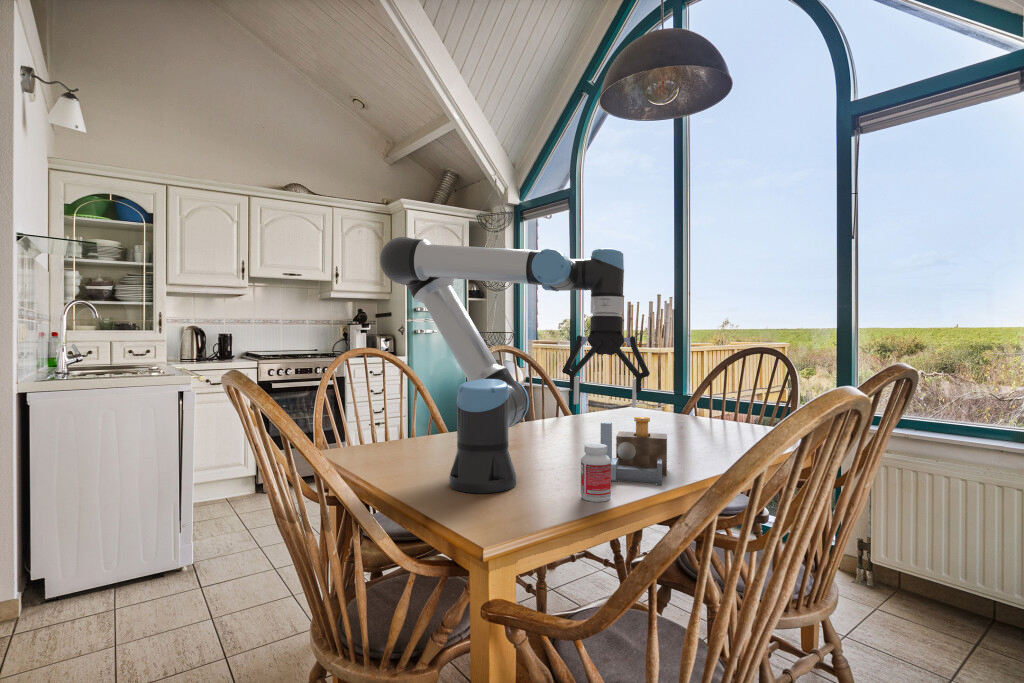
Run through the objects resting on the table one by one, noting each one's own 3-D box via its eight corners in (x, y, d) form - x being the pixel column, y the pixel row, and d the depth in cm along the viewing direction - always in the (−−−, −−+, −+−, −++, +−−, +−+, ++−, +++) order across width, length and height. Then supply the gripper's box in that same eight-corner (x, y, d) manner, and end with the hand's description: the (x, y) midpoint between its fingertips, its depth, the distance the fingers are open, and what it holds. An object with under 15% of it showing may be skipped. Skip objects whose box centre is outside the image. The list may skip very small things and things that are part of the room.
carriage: (593, 479, 125) (593, 424, 125) (597, 472, 132) (597, 419, 131) (615, 481, 124) (615, 425, 123) (618, 473, 130) (618, 420, 130)
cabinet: (616, 472, 133) (616, 436, 133) (618, 465, 140) (618, 431, 140) (666, 476, 130) (666, 439, 130) (666, 469, 137) (667, 433, 136)
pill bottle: (616, 499, 111) (617, 446, 111) (594, 504, 108) (594, 449, 108) (596, 492, 117) (596, 441, 116) (574, 496, 113) (574, 444, 113)
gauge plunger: (633, 446, 134) (633, 418, 134) (634, 443, 137) (634, 416, 137) (649, 446, 133) (649, 419, 132) (650, 443, 136) (650, 417, 136)
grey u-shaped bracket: (586, 479, 126) (586, 458, 126) (589, 474, 131) (589, 454, 131) (661, 485, 122) (661, 463, 121) (662, 480, 126) (662, 458, 126)
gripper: (551, 314, 127) (549, 404, 127) (661, 315, 120) (658, 410, 120) (557, 315, 134) (556, 400, 135) (661, 316, 127) (659, 406, 128)
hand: (604, 405), depth 127 cm, fingers open, 13 cm apart
